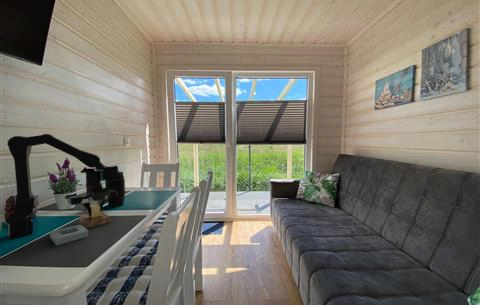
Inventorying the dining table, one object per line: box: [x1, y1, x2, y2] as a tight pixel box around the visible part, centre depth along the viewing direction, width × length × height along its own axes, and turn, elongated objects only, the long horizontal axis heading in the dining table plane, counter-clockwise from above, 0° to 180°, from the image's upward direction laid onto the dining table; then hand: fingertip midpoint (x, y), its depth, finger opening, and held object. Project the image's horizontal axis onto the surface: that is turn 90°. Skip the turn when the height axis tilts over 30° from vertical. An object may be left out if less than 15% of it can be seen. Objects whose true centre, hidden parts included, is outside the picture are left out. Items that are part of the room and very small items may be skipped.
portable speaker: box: [106, 170, 126, 208], centre depth 131 cm, size 9×9×20 cm
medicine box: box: [84, 193, 98, 211], centre depth 122 cm, size 8×4×9 cm, turn 62°
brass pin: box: [88, 204, 100, 220], centre depth 104 cm, size 4×4×8 cm
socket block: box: [49, 223, 89, 246], centre depth 88 cm, size 10×10×2 cm
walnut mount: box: [78, 211, 112, 229], centre depth 104 cm, size 10×10×2 cm
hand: (94, 215), depth 104 cm, fingers closed on brass pin, 3 cm apart
